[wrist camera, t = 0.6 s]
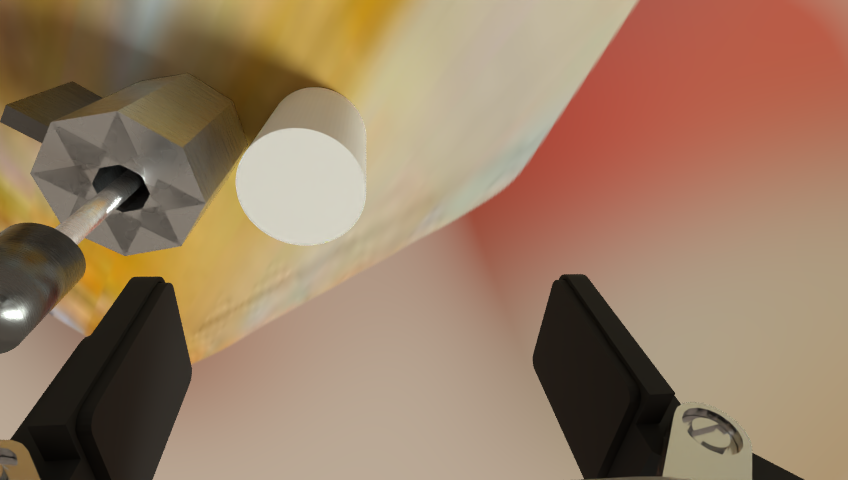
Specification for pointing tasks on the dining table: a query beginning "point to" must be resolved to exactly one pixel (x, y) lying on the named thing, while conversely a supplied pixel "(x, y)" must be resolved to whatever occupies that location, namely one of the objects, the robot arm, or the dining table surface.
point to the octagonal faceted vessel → (133, 154)
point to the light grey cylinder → (306, 169)
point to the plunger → (49, 261)
